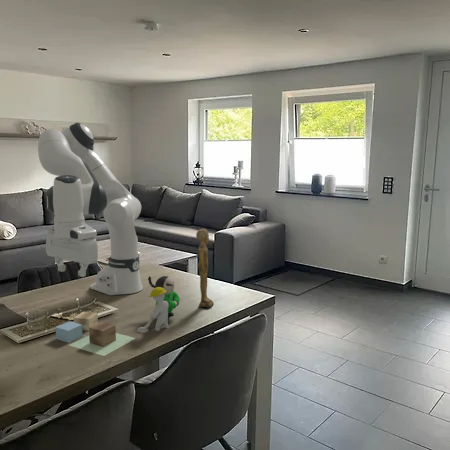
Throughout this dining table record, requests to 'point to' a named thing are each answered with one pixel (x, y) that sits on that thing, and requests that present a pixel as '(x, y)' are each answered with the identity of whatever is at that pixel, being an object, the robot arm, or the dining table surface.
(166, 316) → the figurine
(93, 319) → the oak brick
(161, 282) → the toy
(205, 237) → the sculpture
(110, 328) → the walnut brick
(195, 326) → the dining table surface
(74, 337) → the blue brick
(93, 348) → the plate
